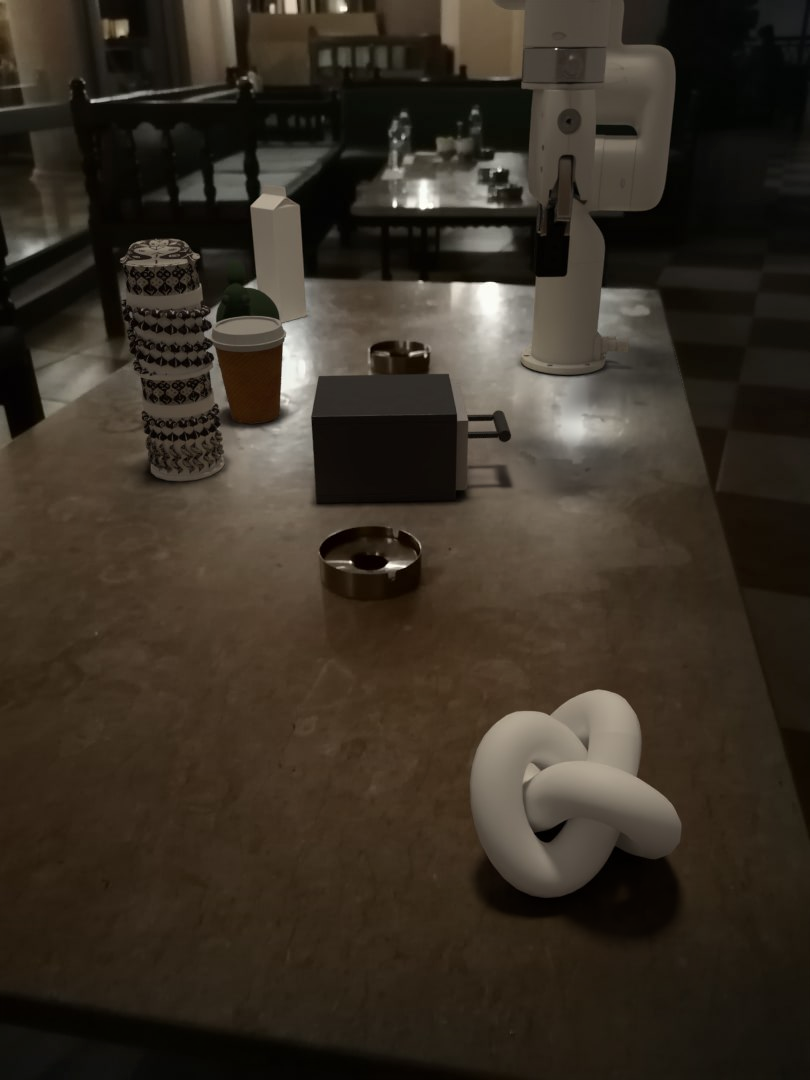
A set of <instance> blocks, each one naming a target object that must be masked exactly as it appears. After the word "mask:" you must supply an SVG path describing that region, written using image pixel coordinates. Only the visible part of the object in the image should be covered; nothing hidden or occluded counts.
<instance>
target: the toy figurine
mask: <svg viewBox="0 0 810 1080" xmlns="http://www.w3.org/2000/svg"><path fill="white" fill-rule="evenodd" d="M225 279H226V282H227V284H228V285H229V286H227V287H226V288H225V289H224V292H223V293H222V296H221V299H220V302H219V304H218V306H217V309H216V315H215V323H217V322H219V321H222V320H225V319H229V318H234V317H242V316H263V317H271V318H275V319H277V320H279V321H280V317H279V312H278V309H277V307H276V305H275V303H274V302H273V301H272V300H271V298H270V297H268V296H267V295H266V294H265V293H263V292H261V291H260V290H258V289H257V288H253V287H245V286H243V285H244V284H245V281H246V269H245V265H244V264H243V262H242V260H241V261H240V260H239V259H233V260H231V261H230V262H229V263H228V264H227V266H226V270H225Z"/></svg>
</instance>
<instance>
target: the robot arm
mask: <svg viewBox="0 0 810 1080" xmlns="http://www.w3.org/2000/svg"><path fill="white" fill-rule="evenodd" d="M492 2H493V3H494V4H495V5H497V6H498V7H499V8H502V9H504V10H508V11H524V19H523V20H524V21H523V45H522V47H523V48H522V64H521V86H520V87H521V89H522V90H532V97H531V98H532V99H531V109H530V125H529V126H530V127H529V129H530V130H529V143H528V166H527V167H528V168H527V169H528V170H527V179H528V180H527V184H528V186H527V187H528V191H529V193H530V195H531V196H532V197H533V198H534V199H535V200H536V229H535V230H536V232H535V233H534V244H533V245H534V246H533V247H534V248H533V263H532V272H533V274H534V275H535V286H534V287H535V288H534V303H533V304H534V305H533V320H532V321H533V322H532V336H531V346H529V347H527V348H525V349H523V350H522V352H521V354H520V362H521V364H522V365H523V366H524V367H526V368H528V369H531V370H533V371H535V372H539V373H545V374H551V375H560V376H563V375H565V376H570V375H573V376H574V375H583V374H584V375H585V374H590V373H593V372H596V371H599V370H601V369H602V368H603V367H604V366H605V364H606V356H605V355H607V354H608V353H609V352H610V353H611V352H614V353H628V352H629V348H630V347H629V345H630V343H629V339H628V338H617V336H602V335H601V334H600V332H599V331H598V330H599V319H600V318H599V317H600V308H601V307H600V306H601V299H602V298H601V297H602V286H603V275H604V266H605V255H606V254H605V253H606V243H605V239H604V235H603V232H602V231H601V230H600V228H599V226H598V225H597V223H596V222H595V221H594V219H593V218H592V217H591V215H590V212H599V211H610V212H611V211H612V212H613V211H616V212H617V211H618V212H644V211H648V210H652V209H653V208H655V207H656V206H657V205H658V204H659V203H660V201H661V199H662V198H663V194H664V190H665V187H666V181H667V172H668V163H669V153H670V143H671V134H672V126H673V125H672V124H673V115H674V104H675V94H676V78H677V77H676V75H677V74H676V65H675V64H676V63H675V59H674V57H673V55H672V53H671V52H670V51H669V49H667V48H666V47H663V46H661V45H657V44H624V43H623V41H622V37H623V25H624V24H623V23H624V15H625V2H624V0H492ZM597 125H598V126H599V125H605V126H607V125H610V126H611V125H612V126H630V127H632V128H633V129H634V130H635V133H636V135H606V134H597V132H596V131H597Z"/></svg>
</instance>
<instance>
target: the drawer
mask: <svg viewBox="0 0 810 1080" xmlns="http://www.w3.org/2000/svg"><path fill="white" fill-rule="evenodd" d="M451 387H452V391H453V396H454V401H455V406H456V411H457V455H456V491H467V489H468V456H469V455H468V454H469V451H468V450H469V448H468V447H469V439H471V440H472V439H498V440H499V441H500V442H501V443H507V442H509V441H510V440H511V439H512V433H511V429H510V427H509V423H508V420H507V417H506V414H505V412H504V411H503V410H499V409H498V410H495V411H494V412H493V413H492V414H491V413H490V414H468V413H467V409H466V405H465V400H464V395H463V391H462V387H461V383H460V382H458V383H457V382H454V383H453V382H451ZM469 422H493V424H494V428H495V430H494V431H493V430H490V431H488V430H487V431H483V430H482V431H469Z"/></svg>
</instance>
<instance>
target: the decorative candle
mask: <svg viewBox="0 0 810 1080" xmlns="http://www.w3.org/2000/svg"><path fill="white" fill-rule="evenodd" d="M200 258H201V256H200V254H199V253H196V252H194V251H193V250H192V249H191V247H190V246H189V245H188V243H186V241H183V240H180V239H177V238H150V239H144V240H139V241H136V242H133V243H132V244H131V245H130V246H129V248H128V250H127V252H126V254H125V256H123V257H121V258H120V259H119V263H120V264H122V267H123V268H122V269H123V273H124V274H123V275H124V281H125V286H126V288H125V296H126V298H124V299H121V300H120V302H121V303H120V305H121V307H123V309H122V320H123V321H125V322H127V323H128V325H129V326H128V328H127V329H126V331H125V332H126V334H127V336H126V337H127V339H128V340H129V343H128V347H129V349H128V351H129V353H130V354H132V355H134V357H135V359H134V360H133V362H132V365H133V371H134V372H135V375H137V376H138V377H140V384H141V390H142V395H141V400H142V407H143V410H142V411H141V421H143V422H145V423H144V424H143V428H144V429H143V433H144V434H145V435H147V437H146V438H145V448H146V449H147V461H148V462H149V463H150V473H151V474H152V475H153V476H154V477H155V478H158V479H162V480H165V481H172V482H187V481H196V480H200V479H204V478H208V477H211V476H212V475H215V474H216V473H218V472H220V471H221V470H222V468H224V466H225V460H224V456H223V454H224V453H225V450H224V445H223V444H222V442H223V440H224V438H223V433H222V432H221V430H218V428H220V426H221V422H220V420H221V418H220V417H219V416H217V415H218V414H220V409H219V404H218V403H216V402H215V401H216V400H215V391H214V388H213V387H212V380H211V370H212V369H214V363H213V362H214V360H215V356H214V354H213V353H212V352H210V351H208V350H209V349H210V348H212V347H214V345H213V342H212V341H211V340H210V338H208V337H207V336H206V335H205V333H206V332H208V331H209V330H211V329H213V324H212V322H211V321H209V320H208V319H206V317H208V316H209V315H210V314H211V312H212V310H211V308H210V307H208V306H207V305H205V304H204V303H202V301H204V295H203V287H202V283H200V276H199V266H198V259H200ZM130 313H131V314H130Z"/></svg>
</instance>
